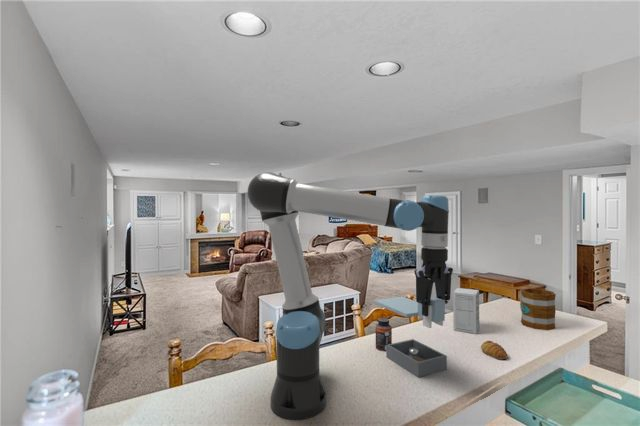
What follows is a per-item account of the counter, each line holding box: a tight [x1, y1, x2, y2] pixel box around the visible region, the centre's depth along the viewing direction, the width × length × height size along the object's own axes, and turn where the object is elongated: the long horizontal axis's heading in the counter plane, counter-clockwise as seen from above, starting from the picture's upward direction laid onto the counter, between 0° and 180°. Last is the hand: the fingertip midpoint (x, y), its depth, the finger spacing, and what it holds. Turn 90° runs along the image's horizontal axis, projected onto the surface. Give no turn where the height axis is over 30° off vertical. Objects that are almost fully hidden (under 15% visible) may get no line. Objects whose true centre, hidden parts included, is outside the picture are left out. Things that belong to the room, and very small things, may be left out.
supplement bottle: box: [375, 317, 393, 352], centre depth 128 cm, size 6×6×11 cm
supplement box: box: [452, 287, 480, 335], centre depth 149 cm, size 10×9×17 cm
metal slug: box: [409, 347, 419, 358], centre depth 120 cm, size 4×4×3 cm
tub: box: [385, 338, 448, 379], centre depth 116 cm, size 12×16×5 cm
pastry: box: [480, 340, 508, 360], centre depth 123 cm, size 9×7×4 cm
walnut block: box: [412, 356, 424, 362], centre depth 112 cm, size 4×4×3 cm
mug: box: [519, 287, 557, 331], centre depth 157 cm, size 20×14×15 cm
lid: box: [373, 295, 446, 323], centre depth 111 cm, size 13×24×6 cm, turn 27°
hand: (433, 325), depth 102 cm, fingers closed on lid, 4 cm apart
